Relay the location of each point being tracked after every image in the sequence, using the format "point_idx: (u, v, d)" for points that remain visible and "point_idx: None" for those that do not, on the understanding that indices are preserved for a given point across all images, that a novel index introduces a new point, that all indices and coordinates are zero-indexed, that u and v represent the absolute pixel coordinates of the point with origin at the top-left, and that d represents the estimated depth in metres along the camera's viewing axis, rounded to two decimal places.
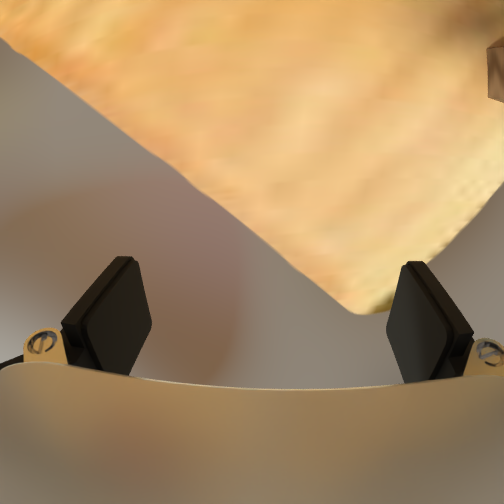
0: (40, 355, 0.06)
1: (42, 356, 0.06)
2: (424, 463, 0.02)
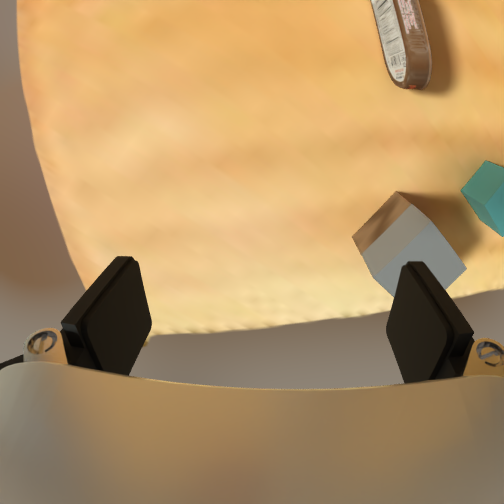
0: (40, 355, 0.06)
1: (42, 356, 0.06)
2: (424, 463, 0.02)
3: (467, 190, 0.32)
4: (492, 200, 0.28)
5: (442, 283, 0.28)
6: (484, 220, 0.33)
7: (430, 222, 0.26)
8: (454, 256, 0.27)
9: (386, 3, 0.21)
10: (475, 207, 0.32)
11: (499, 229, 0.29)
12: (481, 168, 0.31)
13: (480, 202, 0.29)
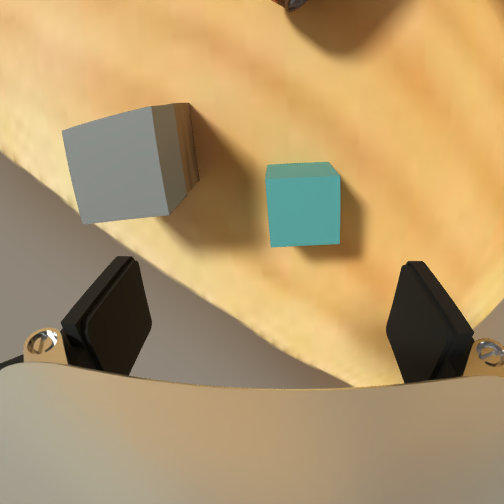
0: (40, 355, 0.06)
1: (42, 356, 0.06)
2: (424, 463, 0.02)
3: (273, 167, 0.28)
4: (282, 185, 0.24)
5: (127, 206, 0.22)
6: None
7: (149, 107, 0.19)
8: (158, 180, 0.21)
9: None
10: None
11: (271, 232, 0.26)
12: (314, 163, 0.29)
13: (266, 177, 0.25)
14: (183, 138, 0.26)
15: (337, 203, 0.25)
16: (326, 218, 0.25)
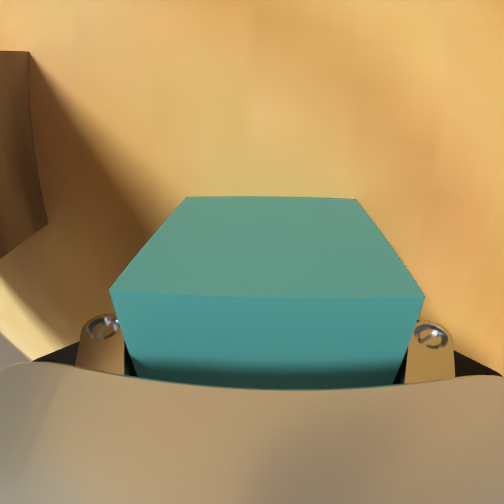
0: (97, 341, 0.07)
1: (99, 343, 0.06)
2: (424, 463, 0.02)
3: (193, 208, 0.10)
4: (177, 317, 0.06)
5: None
6: None
7: None
8: None
9: None
10: None
11: None
12: (316, 201, 0.10)
13: (133, 266, 0.07)
14: None
15: (385, 379, 0.06)
16: None
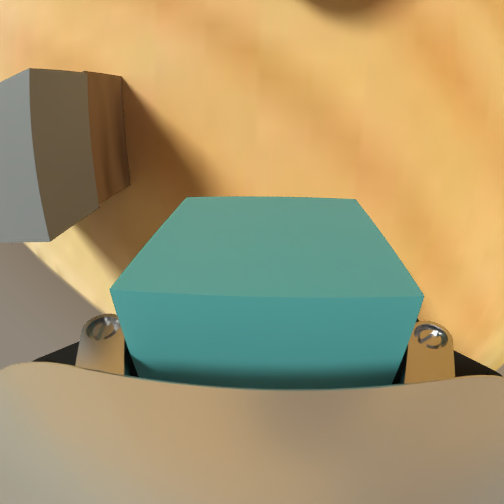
0: (98, 341, 0.07)
1: (99, 343, 0.06)
2: (424, 463, 0.02)
3: (193, 208, 0.10)
4: (177, 317, 0.06)
5: (4, 223, 0.12)
6: None
7: (27, 71, 0.09)
8: (33, 185, 0.11)
9: None
10: None
11: None
12: (316, 202, 0.10)
13: (133, 266, 0.07)
14: (101, 122, 0.16)
15: (384, 378, 0.06)
16: None
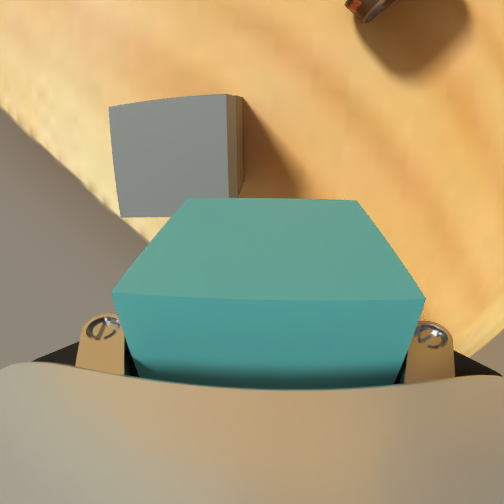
0: (97, 341, 0.07)
1: (99, 343, 0.06)
2: (424, 463, 0.02)
3: (194, 210, 0.10)
4: (179, 320, 0.06)
5: (181, 202, 0.20)
6: None
7: (223, 95, 0.17)
8: (223, 177, 0.19)
9: None
10: None
11: None
12: (317, 203, 0.10)
13: (135, 268, 0.07)
14: (239, 134, 0.24)
15: (385, 380, 0.06)
16: None
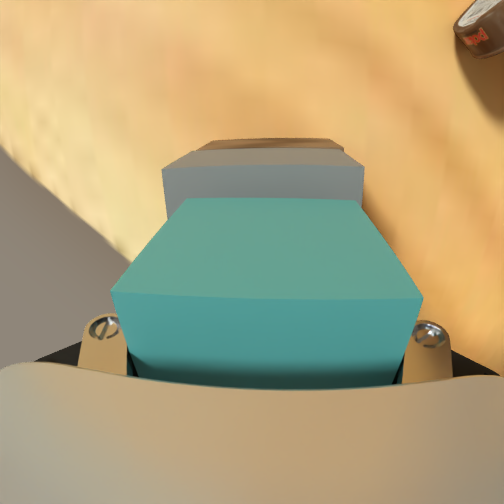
0: (100, 341, 0.07)
1: (102, 343, 0.06)
2: (424, 463, 0.02)
3: (193, 209, 0.10)
4: (177, 319, 0.06)
5: None
6: None
7: (359, 168, 0.11)
8: None
9: None
10: None
11: None
12: (316, 203, 0.10)
13: None
14: None
15: (384, 379, 0.06)
16: None
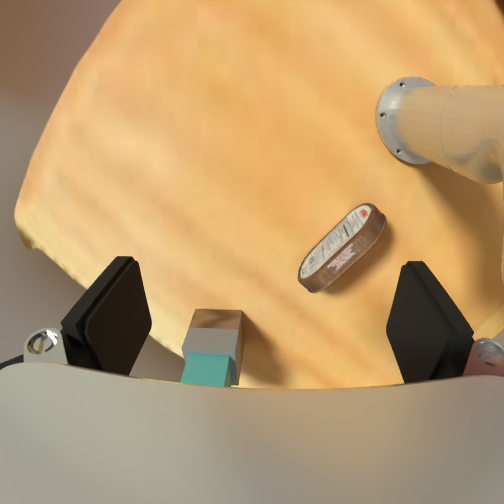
0: (40, 355, 0.06)
1: (42, 356, 0.06)
2: (424, 463, 0.02)
3: (191, 359, 0.43)
4: None
5: None
6: None
7: (233, 351, 0.44)
8: (235, 374, 0.46)
9: (345, 234, 0.40)
10: None
11: None
12: (218, 357, 0.44)
13: (182, 377, 0.40)
14: (240, 336, 0.51)
15: None
16: None
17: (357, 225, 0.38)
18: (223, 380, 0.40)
